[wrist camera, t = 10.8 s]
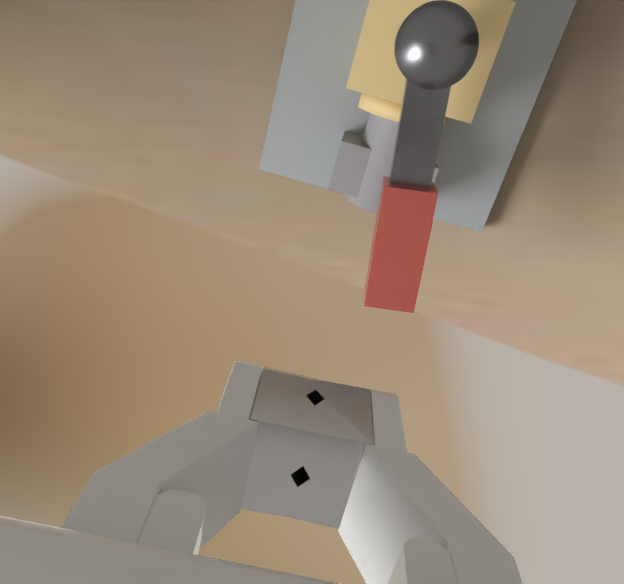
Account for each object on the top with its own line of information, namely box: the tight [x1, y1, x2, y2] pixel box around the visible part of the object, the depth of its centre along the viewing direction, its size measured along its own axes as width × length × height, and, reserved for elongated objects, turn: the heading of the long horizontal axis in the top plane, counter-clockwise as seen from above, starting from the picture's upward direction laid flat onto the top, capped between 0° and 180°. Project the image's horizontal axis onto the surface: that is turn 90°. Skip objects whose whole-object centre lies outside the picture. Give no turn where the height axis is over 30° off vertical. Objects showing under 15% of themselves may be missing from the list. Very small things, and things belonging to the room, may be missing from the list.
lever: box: [364, 0, 479, 313], centre depth 27 cm, size 4×14×2 cm, turn 174°
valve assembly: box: [259, 0, 577, 232], centre depth 30 cm, size 20×16×10 cm
